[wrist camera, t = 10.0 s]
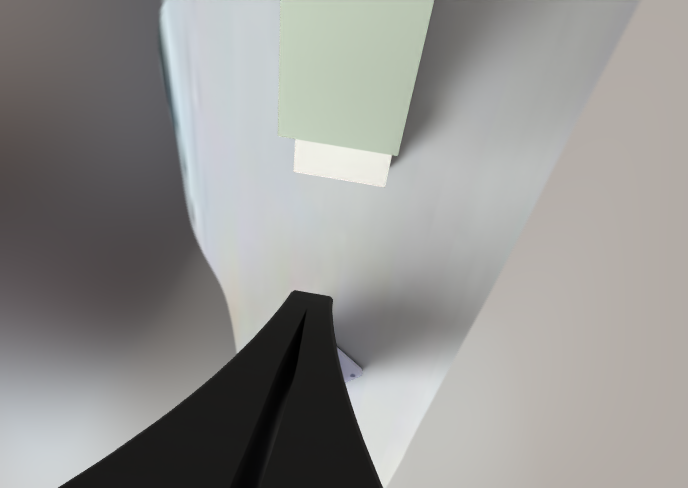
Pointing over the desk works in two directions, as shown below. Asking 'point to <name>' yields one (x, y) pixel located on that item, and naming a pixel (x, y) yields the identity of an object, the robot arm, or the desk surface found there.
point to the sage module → (349, 70)
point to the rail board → (341, 163)
